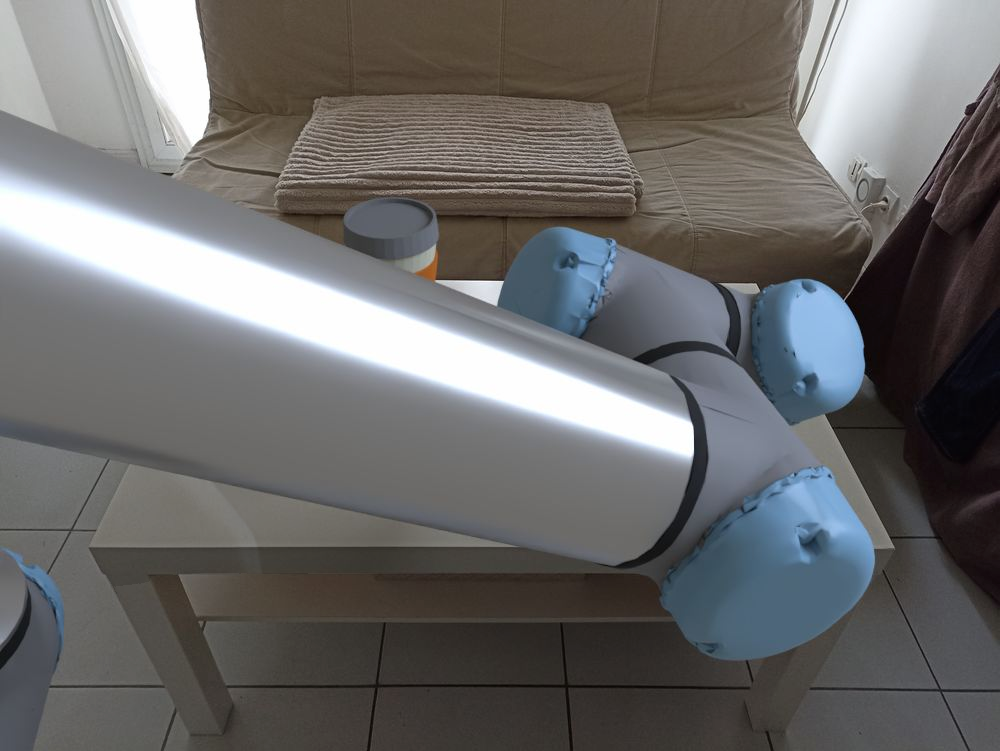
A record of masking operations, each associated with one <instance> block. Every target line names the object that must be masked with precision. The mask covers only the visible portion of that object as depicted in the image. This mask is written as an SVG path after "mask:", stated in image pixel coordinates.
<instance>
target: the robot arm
mask: <svg viewBox="0 0 1000 751" xmlns="http://www.w3.org/2000/svg"><path fill="white" fill-rule="evenodd" d="M864 348H865V345H864V340H863V336H862V333H861V329H860V326H859V324H858V321H857V320H856V318H855V315H854V314H853V312H852V311H851V309H850V307H849V306H848V304H847V302H845V300H843V298H842V297H841V296H840V295H839V294H838V293H837V292H836V291H835V290H833V289H832V288H831V287H830V286H828V285H826V284H825V283H823V282H820V281H817V280H814V279H810V278H798V279H792V280H789V281H785V282H780V283H778V284H769V285H767V286H765V287H763V288H762V289H760V290H759V292H757V293H744V292H742V291H739V290H737V289H734V288H731V287H729V286H727V285H725V284H722V283H719V282H715V281H710V280H707V279H705V278H702V277H700V276H697V275H694V274H693V273H690V272H688V271H684V270H682V269H681V268H678V267H674V266H673V265H670V264H667V263H665V262H663V261H660V260H658V259H655V258H652V257H650V256H647V255H646V254H642V253H640V252H638V251H635V250H633V249H631V248H628V247H625V246H622V245H621V244H618V243H617V241H616V239H614V238H611V237H605V238H603V237H599V236H597V235H593V234H590V233H588V232H587V233H586V232H584V231H580V230H577V229H574V228H570V227H566V226H553V227H548V228H545V229H544V230H542V231H540V232H538V233H536V234H535V235H533V236H532V237H531V238H529V239H528V241H527V242H526V243H525V244H524V245H523V246H522V248H521V249H520V250H519V252H518V253H517V254H516V256H515V258H514V260H513V262H512V263H511V265H510V267H509V268H508V271H507V273H506V274H505V277H504V279H503V282H502V285H501V289H500V291H499V295H498V299H497V303H496V305H495V304H493V303H490V302H487V301H485V300H483V299H480V298H478V297H475V296H473V295H469V294H467V293H464V292H463V291H460V290H457V289H454V288H452V287H450V286H447V285H444V284H442V283H439V282H437V281H435V282H434V281H432V280H429V279H427V278H424V277H422V276H419V275H417V274H414V273H412V272H409V271H407V270H404V269H401V268H399V267H396V266H394V265H391V264H389V263H386V262H384V261H381V260H379V259H376V258H374V257H371V256H369V255H366V254H364V253H361V252H358V251H356V250H353V249H351V248H348V247H347V246H346V245H343V244H340V243H339V242H335V241H333V240H331V239H328V238H326V237H323V236H320V235H317V234H316V233H313V232H311V231H307V230H305V229H303V228H300V227H298V226H296V225H293V224H290V223H287V222H285V221H282V220H280V219H278V218H275V217H272V216H270V215H267V214H264V213H263V212H260V211H256V210H255V209H252V208H249V207H247V206H245V205H242V204H239V203H237V202H234V201H232V200H230V199H226V198H225V197H222V196H220V195H217V194H214V193H211V192H209V191H207V190H205V189H202V188H200V187H196V186H194V185H191V184H190V183H186V182H184V181H181V180H179V179H176V178H174V177H171V176H169V175H167V174H163V173H161V172H159V171H156V170H153V169H151V168H148V167H146V166H143V165H141V164H138V163H136V162H133V161H131V160H128V159H126V158H123V157H121V156H118V155H116V154H113V153H110V152H108V151H105V150H103V149H100V148H98V147H95V146H93V145H90V144H88V143H86V142H82V141H80V140H78V139H75V138H73V137H70V136H67V135H65V134H63V133H60V132H58V131H55V130H53V129H49V128H47V127H46V126H45V127H44V126H43V125H40V124H37V123H34V122H32V121H30V120H27V119H25V118H22V117H19V116H17V115H15V114H12V113H10V112H7V111H4V110H2V109H0V438H1V437H2V438H6V439H11V440H15V441H16V440H17V441H20V442H25V443H30V444H35V445H39V446H42V447H43V446H44V447H48V448H53V449H58V450H62V451H67V452H72V453H77V454H81V455H86V456H90V457H96V458H100V459H105V460H110V461H113V462H114V461H115V462H119V463H124V464H127V465H132V466H133V465H134V466H138V467H143V468H147V469H152V470H157V471H160V472H161V471H162V472H165V473H170V474H175V475H180V476H184V477H188V478H189V477H190V478H194V479H198V480H203V481H209V482H213V483H217V484H222V485H228V486H232V487H237V488H241V489H246V490H251V491H256V492H259V493H265V494H270V495H275V496H279V497H283V498H288V499H292V500H293V499H294V500H298V501H301V502H308V503H312V504H316V505H322V506H326V507H329V508H334V509H340V510H345V511H349V512H354V513H359V514H363V515H367V516H372V517H377V518H382V519H387V520H391V521H397V522H402V523H406V524H411V525H415V526H420V527H424V528H428V529H434V530H438V531H444V532H448V533H452V534H456V535H462V536H466V537H471V538H472V537H473V538H477V539H481V540H486V541H491V542H495V543H500V544H504V545H508V546H514V547H519V548H523V549H528V550H533V551H538V552H541V553H547V554H552V555H556V556H559V557H565V558H571V559H575V560H579V561H583V562H589V563H593V564H596V565H599V566H603V567H607V568H612V569H615V570H619V571H624V572H628V573H633V574H637V575H641V576H646V577H647V578H650V579H651V580H652V581H653V582H655V584H656V585H657V588H658V589H659V592H660V593H659V598H658V600H659V601H660V605H661V607H662V608H663V609H664V610H665V611H668V612H669V613H670V614H671V616H672V617H673V619H674V621H675V623H676V624H677V626H678V628H679V629H680V631H681V633H682V635H683V636H684V638H685V640H687V641H688V642H689V643H690V644H691V645H693V646H695V647H696V648H697V649H698V651H699V652H700V653H702V654H705V655H706V656H707V657H708V656H709V657H711V658H714V659H718V660H724V661H733V662H734V661H740V662H741V661H750V660H757V659H765V658H768V657H772V656H775V655H779V654H782V653H785V652H788V651H789V650H792V649H794V648H797V647H799V646H801V645H803V644H805V643H807V642H809V641H811V640H813V639H816V638H817V637H818V636H820V635H822V633H824V632H826V631H827V630H828V629H831V627H832V626H833V625H834V624H836V623H837V622H838V621H839V620H840V619H842V618H843V617H844V616H845V615H846V614H848V612H849V611H851V610H852V609H853V608H854V607H855V605H856V604H857V603H858V602H859V601H860V600H861V598H862V597H863V595H864V594H865V592H866V590H867V588H868V587H869V584H870V582H871V581H872V577H873V574H874V570H875V564H876V556H875V548H874V544H873V540H872V538H871V536H870V534H869V532H868V530H867V529H866V527H865V525H864V524H863V522H862V521H861V520H860V519H859V516H858V515H857V514H856V512H855V511H854V509H853V508H852V506H851V505H850V503H849V501H848V500H847V499H846V497H845V495H844V494H843V493H842V491H841V490H840V488H839V487H838V485H837V483H836V477H835V476H834V475H833V472H832V470H830V469H829V468H828V466H825V465H822V463H821V462H820V461H819V460H818V459H817V457H816V456H815V455H814V454H813V453H812V451H811V450H810V449H809V448H808V446H807V445H806V444H805V443H804V442H803V440H802V439H801V438H800V436H798V434H797V432H795V430H794V429H793V428H792V427H793V426H796V425H799V424H801V422H805V421H808V420H811V419H814V418H816V417H821V416H823V415H827V414H830V413H833V412H836V411H838V410H840V409H843V408H844V407H846V406H847V405H848V404H849V403H850V402H851V401H852V400H853V399H854V398H855V397H856V395H857V394H858V392H859V390H860V388H861V385H862V383H863V381H864V375H865V370H866V361H865V356H864ZM23 560H24V557H23V555H21V554H19V553H17V552H15V551H13V550H10V549H7V548H4V547H1V546H0V751H33V750H34V747H35V743H36V740H37V735H38V733H39V728H40V724H41V720H42V718H43V717H42V716H43V714H44V710H45V705H46V702H47V698H48V694H49V690H50V687H51V683H52V679H53V676H54V674H55V672H56V670H57V668H58V665H59V662H60V656H61V654H62V652H63V646H64V635H65V633H64V632H65V630H64V625H65V606H64V601H63V598H62V595H61V593H60V590H59V589H58V587H57V585H56V584H55V582H54V581H53V579H52V577H50V575H49V574H48V573H47V571H45V570H44V569H43V568H42V567H40V566H39V565H38V564H36V563H35V564H28V565H24V564H23Z"/></svg>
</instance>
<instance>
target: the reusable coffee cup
mask: <svg viewBox="0 0 1000 751" xmlns="http://www.w3.org/2000/svg"><path fill="white" fill-rule="evenodd" d="M437 217H438V216H437V213H436V211H435V209H434V208H433V207H432V206H431V205H429V204H427V203H425V202H423V201H421V200H418V199H413V198H408V197H400V196H389V197H377V198H372V199H369V200H364V201H362V202H359V203H357V204H355V205H353V206H352V207H350V208H349V209H348V210H347V211H346V212H345V213H344V215H343V220H342V221H343V222H342V223H343V224H342V225H343V227H342V230H343V236H342V237H343V238H342V239H343V242H344V246H346V247H348V248H351V249H353V250H356V251H358V252H361V253H364V254H366V255H369V256H371V257H374V258H376V259H379V260H381V261H384V262H386V263H389V264H391V265H394V266H396V267H399V268H401V269H404V270H407V271H409V272H412V273H414V274H417V275H419V276H422V277H424V278H427V279H429V280H432V281H434V282H436V279H437V270H438V259H439V252H438V249H437V243H438V241H439V238H440V231H439V224H438V219H437Z"/></svg>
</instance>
